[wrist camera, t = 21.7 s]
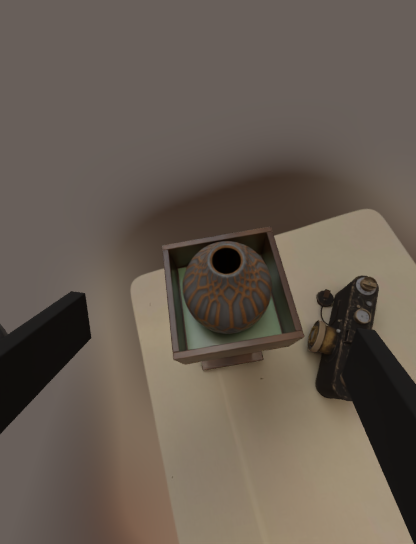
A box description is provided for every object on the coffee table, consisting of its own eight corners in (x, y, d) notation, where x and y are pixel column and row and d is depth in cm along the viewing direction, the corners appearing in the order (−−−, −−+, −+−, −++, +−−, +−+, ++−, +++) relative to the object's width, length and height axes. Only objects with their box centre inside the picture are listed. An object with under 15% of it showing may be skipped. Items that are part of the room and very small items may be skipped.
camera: (318, 282, 43) (337, 262, 36) (361, 296, 41) (389, 277, 34) (292, 384, 37) (308, 384, 30) (340, 403, 36) (369, 408, 28)
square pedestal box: (201, 372, 39) (173, 360, 19) (193, 311, 42) (161, 245, 22) (264, 361, 39) (304, 337, 19) (250, 301, 42) (270, 226, 22)
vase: (212, 255, 26) (205, 198, 18) (277, 287, 24) (302, 238, 16) (175, 315, 24) (148, 280, 16) (243, 355, 22) (252, 338, 14)
